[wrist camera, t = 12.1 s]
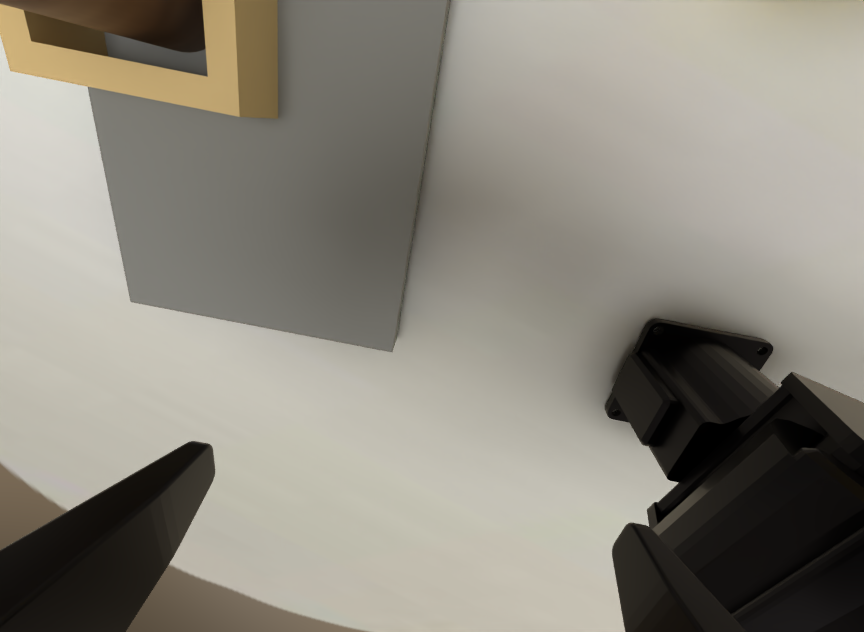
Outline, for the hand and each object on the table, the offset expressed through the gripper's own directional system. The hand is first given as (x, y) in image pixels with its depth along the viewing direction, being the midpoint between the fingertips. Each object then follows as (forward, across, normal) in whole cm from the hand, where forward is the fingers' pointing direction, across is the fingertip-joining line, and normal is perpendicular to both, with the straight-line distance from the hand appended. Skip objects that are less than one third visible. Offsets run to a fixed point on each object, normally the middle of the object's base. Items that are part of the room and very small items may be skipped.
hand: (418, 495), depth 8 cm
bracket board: (+13, +9, -6) cm, 17 cm away
